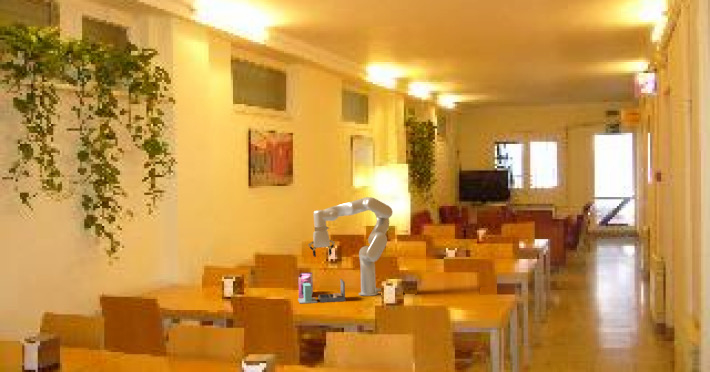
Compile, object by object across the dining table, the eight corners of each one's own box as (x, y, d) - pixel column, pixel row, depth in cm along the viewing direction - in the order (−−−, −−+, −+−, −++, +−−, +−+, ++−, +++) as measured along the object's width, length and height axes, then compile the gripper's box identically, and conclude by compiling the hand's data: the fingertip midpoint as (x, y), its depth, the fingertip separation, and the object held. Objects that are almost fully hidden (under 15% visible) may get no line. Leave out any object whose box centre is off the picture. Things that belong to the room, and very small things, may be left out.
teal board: (309, 298, 519) (309, 282, 519) (311, 301, 507) (311, 285, 507) (303, 298, 518) (303, 283, 518) (305, 301, 506) (304, 285, 506)
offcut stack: (339, 298, 522) (339, 292, 521) (343, 301, 510) (343, 295, 510) (333, 298, 521) (332, 293, 520) (337, 301, 509) (337, 296, 509)
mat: (315, 298, 521) (315, 297, 521) (317, 302, 505) (317, 301, 505) (297, 299, 520) (297, 298, 520) (299, 303, 504) (299, 302, 504)
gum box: (310, 298, 525) (310, 277, 524) (298, 298, 525) (297, 277, 525) (313, 292, 549) (312, 272, 548) (301, 292, 549) (300, 272, 548)
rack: (342, 297, 523) (341, 278, 523) (345, 301, 508) (344, 282, 508) (318, 298, 521) (317, 279, 521) (320, 302, 506) (319, 283, 506)
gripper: (333, 227, 525) (335, 254, 526) (306, 230, 523) (308, 256, 523) (334, 228, 518) (336, 255, 518) (307, 231, 515) (309, 257, 516)
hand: (322, 256), depth 521 cm, fingers open, 9 cm apart
